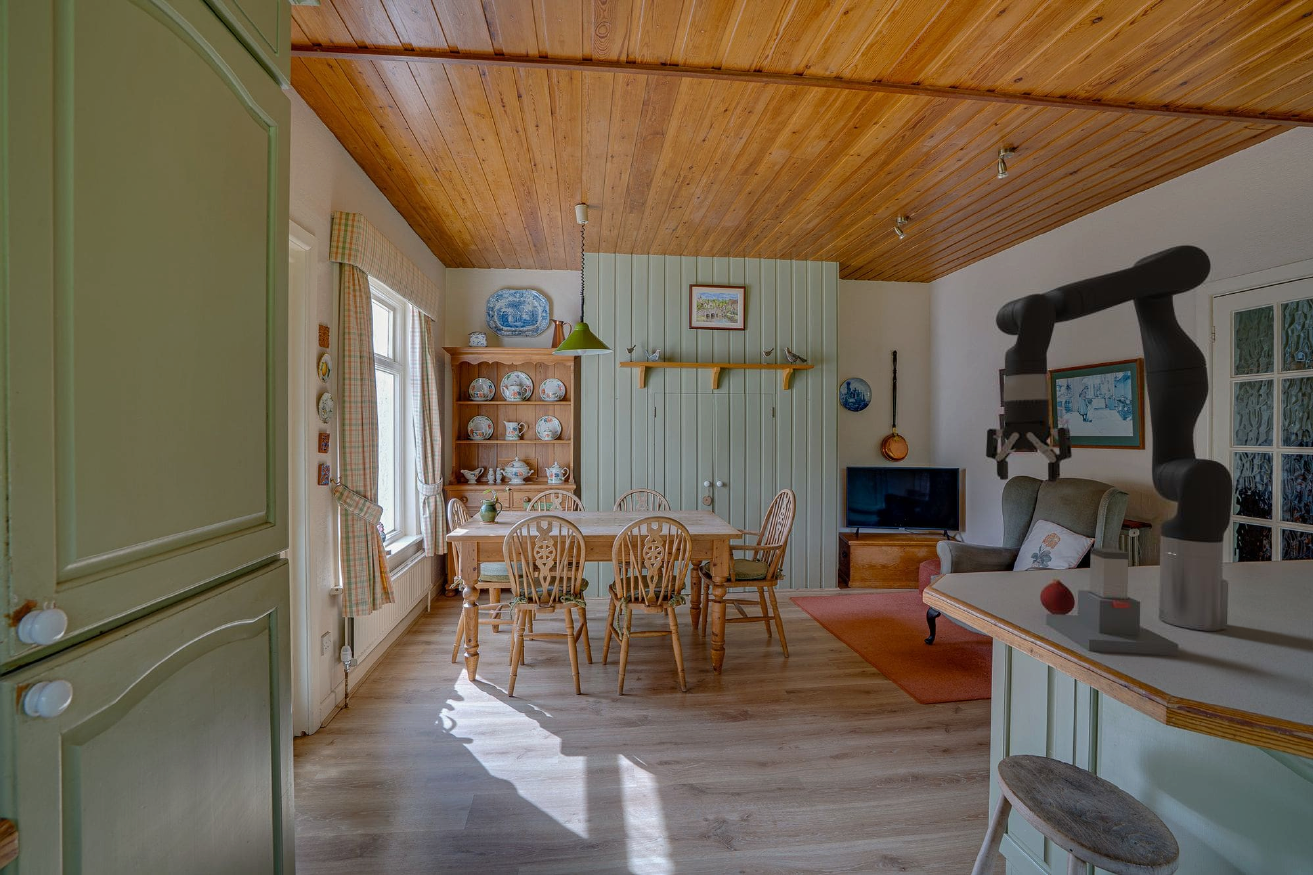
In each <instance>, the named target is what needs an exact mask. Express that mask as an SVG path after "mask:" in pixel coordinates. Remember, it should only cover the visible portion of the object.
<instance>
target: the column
mask: <svg viewBox="0 0 1313 875" xmlns="http://www.w3.org/2000/svg"><path fill="white" fill-rule="evenodd" d="M1089 567H1090V569H1089V574H1090V575H1089V591H1090V593H1091V594H1093V595H1095V596H1097V597H1100V598H1102V599H1117V600H1127V597H1128V593H1129V592H1128V590H1129V589H1128V587H1129V584H1128V583H1129V582H1128V581H1129V552H1127V551H1123V550H1120V549H1117V548H1114V547H1113V548H1111V547H1090V565H1089Z"/></svg>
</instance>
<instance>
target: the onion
mask: <svg viewBox="0 0 1313 875" xmlns="http://www.w3.org/2000/svg"><path fill="white" fill-rule="evenodd" d="M1052 581H1053V582H1051V583H1049V584H1047V585H1046V586H1044V588H1043V589H1042V590H1041V592H1040V596H1039V599H1040V602H1041V604H1042V606H1043V608H1044V609H1045V610H1046V611H1048V612H1049V614H1057V615H1069V613H1070V612H1073V610H1074V607H1075V605H1076V604H1075V603H1076V601H1075V597H1074V594H1073V593H1072V591H1071V589H1069V587H1067V585H1065V584H1063V582H1062V581H1060V579H1058V578H1053V579H1052Z"/></svg>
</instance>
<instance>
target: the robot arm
mask: <svg viewBox="0 0 1313 875" xmlns="http://www.w3.org/2000/svg"><path fill="white" fill-rule="evenodd" d="M1211 265H1212V264H1211V260H1210V257H1209V255H1208V253H1206V252H1205V251H1204V250H1203V249H1202V248H1200V247H1199V246H1195V245H1190V244H1188V245H1187V244H1186V245H1185V244H1184V245H1176V246H1172V247H1169V248H1167V249H1163V250H1161V251H1158V252H1156V253H1152V254H1150V255H1147V256H1144V257H1142V258H1140V259H1139V260H1137V261H1136V262H1135V263H1134V265H1133V266H1131V267H1128V268H1125V269H1120V270H1117V271H1113V272H1109V273H1105V274H1102V275H1097V276H1094V277H1089V278H1085V279H1081V280H1077V281H1074V282H1070V283H1068V284H1065V285H1061V286H1059V287H1056V288H1054V289H1051V290H1049V291H1047V292H1044V293H1032V294H1029V295H1025V296H1023V297H1019V298H1017V299H1014V300H1011V301H1009V302H1007V303H1005V304H1004V305H1002V306H1001V307H1000V309H999V310H998V311H997V314H996V317H995V323H996V326H997V328H998V329H999V330H1000V331H1001V332H1002V333H1004V334H1005V335H1009V336H1016V342H1015V344H1013V346H1011V347H1009V348H1008V349H1007V350H1006V352H1005V354H1004V385H1003V395H1002V397H1003V410H1004V411H1003V413H1004V414H1003V415H1004V416H1003V417H1004V418H1003V420H1004V426H1003V429H999V428H988V429H987V430H986V447H985V448H986V451H985V452H986V453H985V456H986V457H987V458H989V459H993V460H995V462H996V475H997V477H999V480H1001V481H1002V480H1003V481H1006V480H1008V479H1009V461H1008V460H1007V459H1008V458H1009V457H1010V455H1011V454H1013V453H1014V452H1015V450H1016V451H1024V450H1028V451H1037V450H1038V451H1039V452H1040V453H1041V454H1043V455H1044V456H1045V458H1046V459H1047V460H1048V461H1049V462H1047V476H1048V477H1047V480H1048V482H1049V483H1056V482H1057V480H1058V479H1060V477H1061V462H1062V461H1064V460H1069V459H1071V458H1072V456H1073V454H1072V445H1071V444H1072V443H1071V434H1070V432H1071V431H1070V429H1069V427H1059V428H1052V427H1051V425H1050V385H1049V380H1048V356H1047V353H1048V350H1049V348H1050V344H1051V342H1052V336H1053V333H1054V329H1055V324H1058V323H1063V322H1069V321H1073V320H1076V319H1077V320H1078V319H1080V318H1083V317H1087V316H1090V315H1093V314H1096V313H1099V312H1101V311H1102V312H1103V311H1104V310H1105V311H1106V310H1108V309H1111V308H1113V307H1116V306H1118V305H1122V304H1125V303H1127V302H1128V303H1129V302H1131V301H1132V302H1133V305H1134V308H1135V313H1136V318H1137V321H1138V326H1139V331H1140V332H1139V333H1140V337H1141V338H1140V339H1141V345H1142V351H1143V359H1144V371H1145V382H1146V390H1147V395H1148V396H1147V397H1148V402H1149V412H1150V415H1149V416H1150V425H1151V435H1152V436H1151V438H1152V442H1151V444H1152V449H1151V450H1152V451H1151V454H1152V455H1151V478H1152V484H1153V487H1154V488H1155V491H1156V492H1157V494H1158V495H1160V496H1161V497H1162V498H1163V499H1165V500H1168V501H1170V502H1176V503H1177V509H1176V513H1175V515H1174V516H1173V517H1172V518H1170V519H1167V520H1164V521H1162V522H1161V524H1160V544H1159V545H1160V547H1159V548H1160V552H1159V553H1160V555H1159V556H1160V557H1159V591H1158V592H1159V596H1158V597H1159V598H1158V619H1159V620H1160V621H1162V622H1164V623H1166V624H1170V625H1173V626H1176V627H1180V628H1185V629H1191V630H1197V631H1206V632H1207V631H1208V632H1209V631H1210V632H1212V631H1213V632H1214V631H1221V630H1228V612H1229V611H1228V605H1229V582H1228V581H1227V579H1224V578H1223V575H1224V574H1223V573H1224V570H1223V569H1224V566H1223V565H1224V538H1225V537H1224V536H1225V533H1226V531H1227V529H1228V528H1229V525H1230V522H1231V515H1232V514H1231V512H1232V504H1233V503H1232V502H1233V490H1234V488H1233V487H1234V486H1233V484H1234V483H1233V478H1232V475H1231V473H1230V471H1229V470H1228V468H1227V467H1226V466H1225V465H1224V464H1223V463H1221V462H1219V461H1217V460H1213V459H1212V460H1211V459H1206V458H1196V452H1195V442H1194V432H1195V427H1196V424H1197V422H1198V419H1199V416H1200V415H1201V413H1202V411H1203V409H1204V406H1205V404H1206V401H1207V399H1208V395H1209V377H1208V367H1207V361H1206V358H1205V355H1204V353H1203V352H1202V350H1201V349H1200V347H1199V346H1198V345H1197V343H1196V342H1194V340H1193V339H1192V338H1191V337H1190V336H1189V335H1188V334H1187V333H1186V332H1185V331H1184V329H1183V328H1182V326H1181V325H1180V324H1179V322H1178V319H1177V317H1176V313H1175V306H1174V300H1173V299H1174V298H1173V297H1174V296H1175V295H1180V294H1183V293H1187V292H1190V291H1192V290H1194V289H1196V288H1197V287H1199V286H1201V285H1202V284H1203V283H1204V282H1205V281H1206V280H1207V279H1208V276H1209V275H1210V272H1211V268H1212V267H1211ZM1052 435H1053V436H1054V439H1055V440H1058V453H1057V451H1055V449H1054V447H1053V446H1052V445H1051V443H1050V442H1049V441H1048V440H1049V439H1050V438H1051V436H1052ZM1002 436H1003V438H1004V439H1005V440H1006V442H1005V444H1003V446H1002V447H1001V450H999V451H998V448H999V446H998V445H999V440H1000V439H1001V438H1002Z"/></svg>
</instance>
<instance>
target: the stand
mask: <svg viewBox="0 0 1313 875" xmlns="http://www.w3.org/2000/svg"><path fill="white" fill-rule="evenodd" d="M1077 593H1078V594H1077V615H1073V614H1066V615H1057V614H1051V613H1046V615H1045V619H1046V620H1045V622H1046V623H1045V624H1046V625H1047V626H1049V627H1050V628H1052V629H1054V630H1055V631H1057V632H1059V633H1060V634H1062V635H1063V636H1064V637H1066V638H1068V639H1069V640H1071V641H1072V642H1075V643H1076V644H1078V645H1079V646H1080V647H1082V648H1084V649H1085V650H1086V651H1088V652H1103V653H1105V652H1106V653H1124V654H1135V655H1136V654H1138V655H1141V654H1142V655H1153V656H1155V655H1157V656H1173V657H1174V656H1175V657H1179V644H1178V643H1177V642H1174V641H1172V640H1170V639H1169V638H1166V637H1164V636H1162V635H1160V634H1158V633H1156V632H1153V631H1151V630H1150V629H1147V627H1143V626H1141V601H1139V600H1136V599H1134V598H1132V597H1130V596H1127V600H1117V599H1102V598H1100V597H1097V596H1095V595H1093V594H1091V593H1090V590H1089V589H1088V590H1086V589H1085V590H1084V589H1078V590H1077Z"/></svg>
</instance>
